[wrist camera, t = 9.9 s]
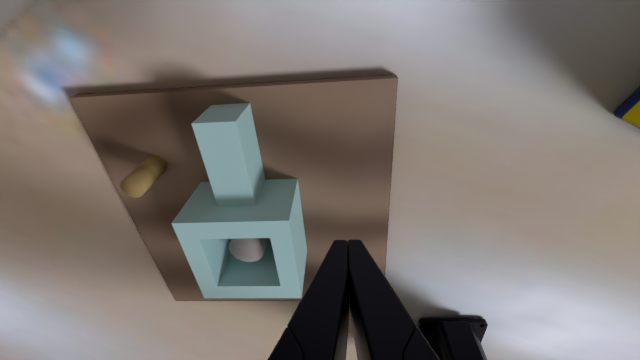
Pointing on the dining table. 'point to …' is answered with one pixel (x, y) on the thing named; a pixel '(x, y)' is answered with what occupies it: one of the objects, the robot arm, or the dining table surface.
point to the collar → (241, 214)
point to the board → (276, 154)
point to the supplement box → (630, 109)
